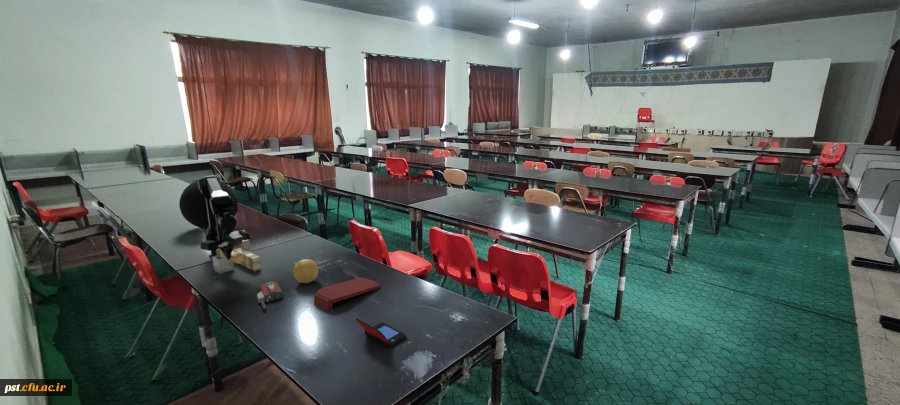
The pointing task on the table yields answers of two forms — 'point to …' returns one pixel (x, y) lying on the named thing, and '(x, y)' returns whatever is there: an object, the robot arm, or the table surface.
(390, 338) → the handheld game console
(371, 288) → the dark red long block
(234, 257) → the bar
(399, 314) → the table surface
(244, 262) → the grey-beige crossed blocks
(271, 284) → the walkie-talkie
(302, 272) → the stress ball
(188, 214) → the sphere
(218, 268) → the jamb post
